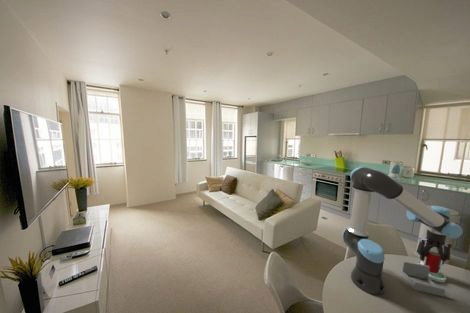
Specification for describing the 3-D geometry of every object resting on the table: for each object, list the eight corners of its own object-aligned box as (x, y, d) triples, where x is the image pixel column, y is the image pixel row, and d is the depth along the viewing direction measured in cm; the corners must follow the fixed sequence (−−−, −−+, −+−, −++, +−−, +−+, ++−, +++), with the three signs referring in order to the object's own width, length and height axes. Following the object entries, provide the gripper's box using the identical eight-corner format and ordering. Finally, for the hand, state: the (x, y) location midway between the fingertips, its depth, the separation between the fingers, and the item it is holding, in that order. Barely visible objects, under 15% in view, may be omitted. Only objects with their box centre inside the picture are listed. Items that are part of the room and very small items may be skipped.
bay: (415, 289, 94) (417, 276, 93) (401, 272, 106) (403, 260, 105) (444, 296, 90) (446, 283, 89) (426, 278, 102) (428, 265, 101)
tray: (423, 278, 101) (424, 276, 101) (409, 263, 114) (409, 260, 113) (452, 285, 97) (453, 282, 97) (434, 268, 110) (435, 265, 109)
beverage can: (442, 275, 101) (445, 256, 100) (428, 273, 103) (431, 254, 101) (431, 266, 108) (434, 249, 106) (418, 264, 109) (421, 247, 108)
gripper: (420, 232, 102) (414, 267, 104) (465, 238, 96) (457, 276, 98) (411, 225, 109) (406, 258, 111) (453, 231, 103) (446, 266, 105)
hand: (430, 266), depth 105 cm, fingers closed on beverage can, 7 cm apart
